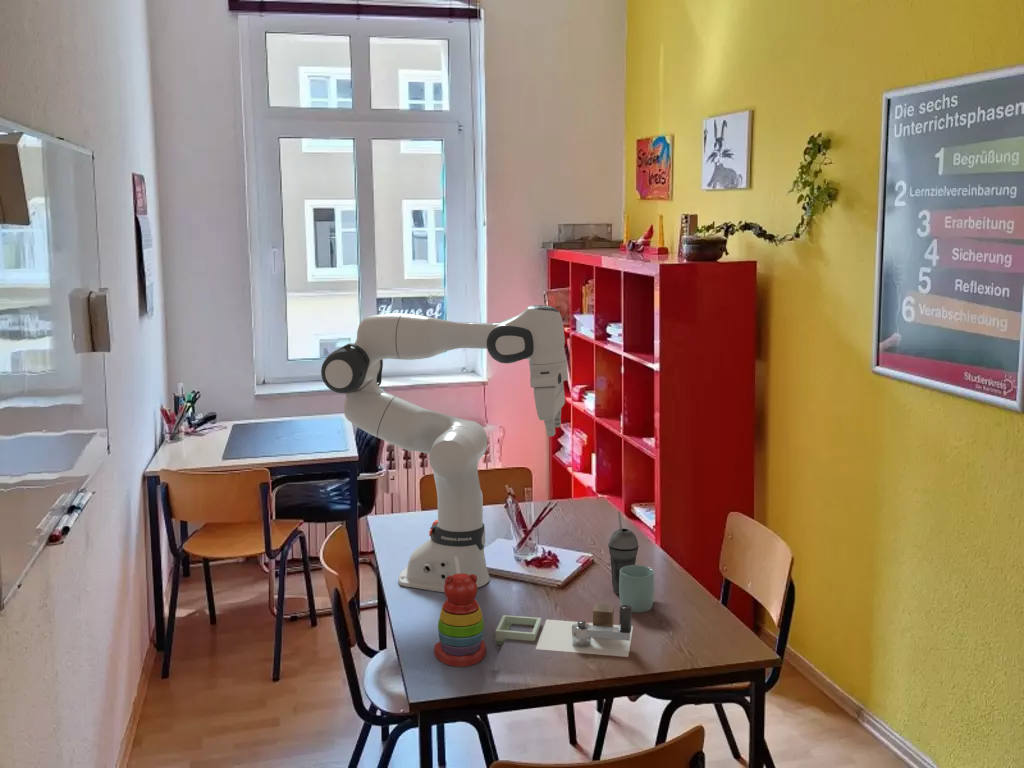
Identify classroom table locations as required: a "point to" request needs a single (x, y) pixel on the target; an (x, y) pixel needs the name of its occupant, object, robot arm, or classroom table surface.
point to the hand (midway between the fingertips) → (554, 431)
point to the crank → (603, 629)
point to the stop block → (603, 615)
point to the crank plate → (560, 639)
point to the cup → (637, 587)
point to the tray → (504, 633)
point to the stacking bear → (460, 623)
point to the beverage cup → (621, 552)
